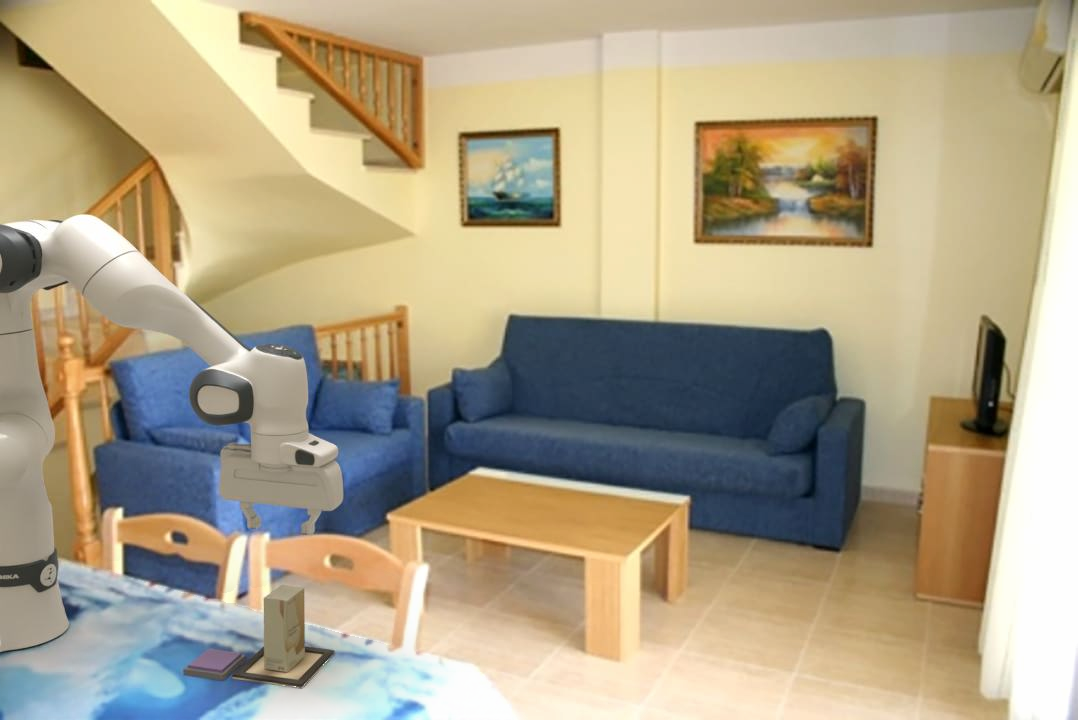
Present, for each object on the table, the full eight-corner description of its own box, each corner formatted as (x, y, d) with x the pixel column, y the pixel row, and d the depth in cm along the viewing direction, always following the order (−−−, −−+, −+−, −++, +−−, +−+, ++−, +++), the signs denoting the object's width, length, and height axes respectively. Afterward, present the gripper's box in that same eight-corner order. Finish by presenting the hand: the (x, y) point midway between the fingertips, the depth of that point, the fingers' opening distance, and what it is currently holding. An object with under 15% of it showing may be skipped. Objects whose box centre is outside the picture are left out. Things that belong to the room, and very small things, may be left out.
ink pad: (183, 674, 150) (183, 666, 150) (207, 655, 157) (207, 646, 156) (223, 680, 149) (222, 671, 148) (246, 660, 155) (245, 652, 155)
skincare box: (287, 673, 151) (286, 601, 149) (263, 669, 152) (261, 598, 150) (306, 655, 157) (305, 586, 155) (283, 652, 158) (281, 583, 156)
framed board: (232, 678, 149) (232, 674, 149) (269, 645, 161) (269, 641, 161) (301, 688, 147) (301, 684, 147) (334, 654, 158) (334, 650, 158)
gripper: (209, 446, 148) (211, 530, 150) (330, 457, 143) (330, 544, 145) (231, 437, 154) (232, 518, 156) (347, 447, 149) (347, 531, 151)
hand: (281, 530), depth 151 cm, fingers open, 8 cm apart
